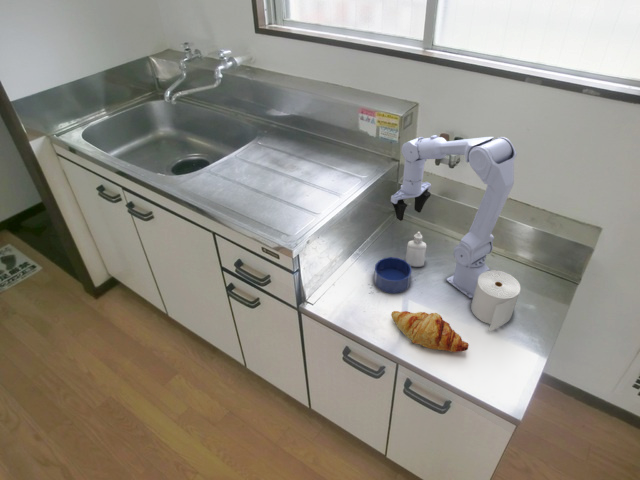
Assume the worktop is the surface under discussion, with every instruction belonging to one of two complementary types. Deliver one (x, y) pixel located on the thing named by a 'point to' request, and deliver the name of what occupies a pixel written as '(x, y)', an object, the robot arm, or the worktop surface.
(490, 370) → the worktop surface
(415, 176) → the robot arm
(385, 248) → the worktop surface
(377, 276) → the blue bowl
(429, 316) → the croissant
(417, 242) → the eye dropper bottle
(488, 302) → the toilet tissue
